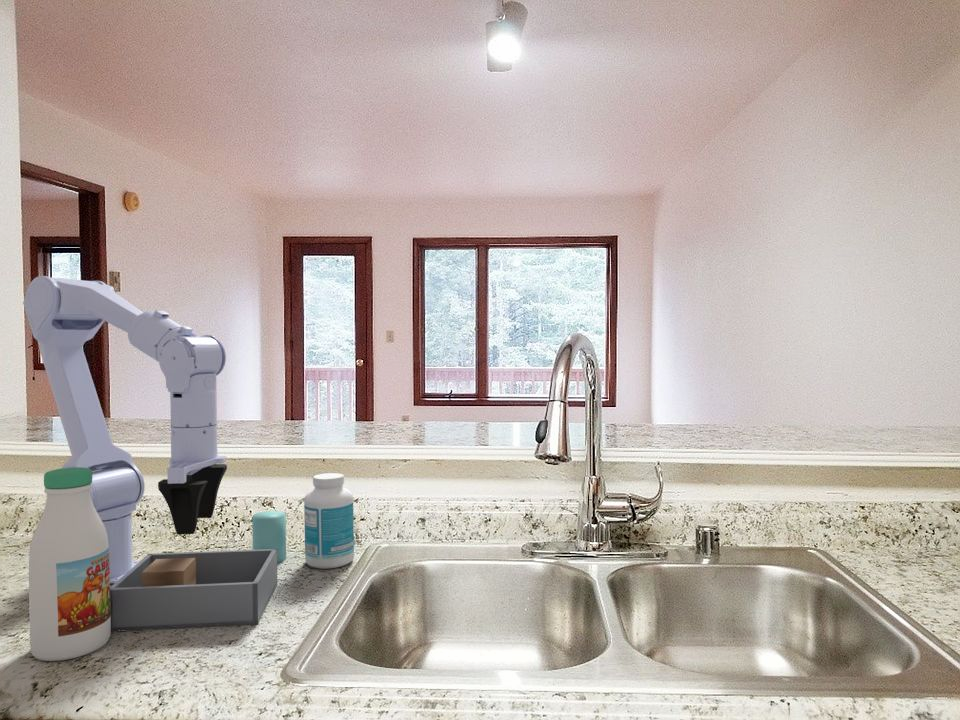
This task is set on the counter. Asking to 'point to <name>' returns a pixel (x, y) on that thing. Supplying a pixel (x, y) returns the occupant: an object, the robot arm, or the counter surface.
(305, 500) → the pill bottle
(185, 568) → the walnut cube
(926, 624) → the counter surface
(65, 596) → the milk bottle
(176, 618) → the tote
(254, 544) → the teal cylinder
